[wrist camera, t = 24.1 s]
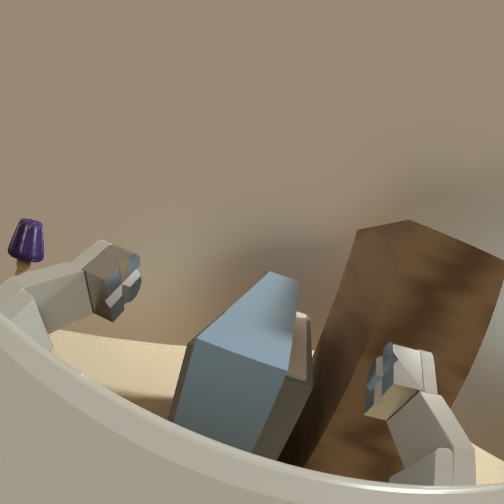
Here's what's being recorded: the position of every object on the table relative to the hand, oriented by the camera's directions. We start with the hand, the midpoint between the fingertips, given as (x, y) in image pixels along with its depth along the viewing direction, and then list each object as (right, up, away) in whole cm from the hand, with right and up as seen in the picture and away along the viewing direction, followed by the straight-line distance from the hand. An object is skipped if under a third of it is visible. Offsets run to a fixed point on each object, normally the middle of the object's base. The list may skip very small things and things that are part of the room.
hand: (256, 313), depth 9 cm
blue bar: (0, -5, +10) cm, 11 cm away
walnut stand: (+6, -22, +17) cm, 29 cm away
